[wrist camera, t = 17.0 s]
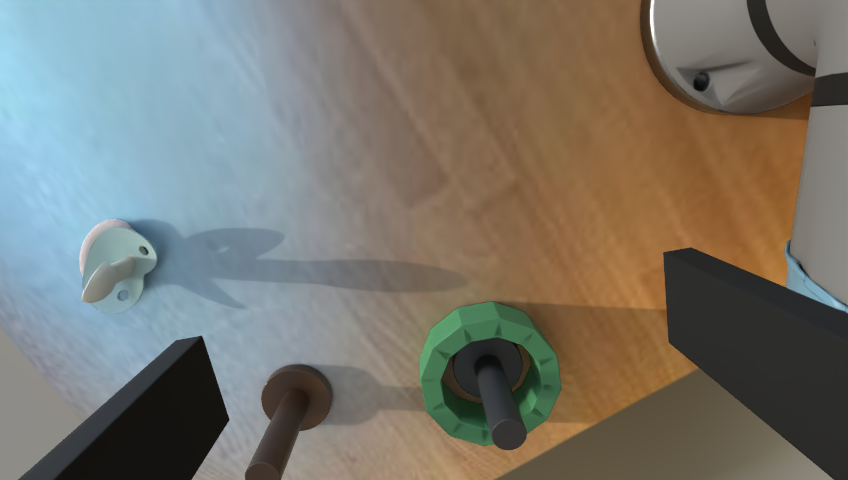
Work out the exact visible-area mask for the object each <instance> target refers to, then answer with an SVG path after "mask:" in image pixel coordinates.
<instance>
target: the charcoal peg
mask: <svg viewBox="0 0 848 480" xmlns="http://www.w3.org/2000/svg"><path fill="white" fill-rule="evenodd" d="M452 364H453V371H454V376H455V379H456V381H457V383H458V384H459V385H460V387H461V388H462V389H463V390H465V391H466V392H467V393H469V394H471V395H473V396H476V397H481V398H482V402H483V406H484V410H485V414H486V418H487V422H488V426H489V430H490V433H491V437H492V441H493V442H494V444H495V445H496V446H497V447H499V448H501V449H504V450H513V449H516V448H518V447H520V446H521V445H522V444H523V443H524V441H525V439H526V436H527V431H526V427H525V425H524V422H523V420H522V417H521V414H520V412H519V409H518V406H517V404H516V401H515V398H514V396H513V393H512V390H511V388H512V387H513V386H514V385H515V384H516V383H517V381H518V380H519V378H520V375H521V372H522V358H521V355H520V353H519V350H518V348H517V347H516V345H515V343H514V342H511V341H508V340H505V339H502V338H499V337H496V338H490V339H484V340H479V341H473V342H470V343H468V344H467V345H466V346H464V347H463V348H462V349H461V350H459V351H458V352H457V353H455V354H454V355H453V363H452Z"/></svg>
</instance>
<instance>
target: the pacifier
mask: <svg viewBox="0 0 848 480" xmlns="http://www.w3.org/2000/svg"><path fill="white" fill-rule="evenodd" d="M142 246H144V247H145V248H147V250H148V252H149V254H148V255H147V254H146V252H145V250H144V248H143V247H142ZM157 262H158V253H157V251H156V248H155V247H154V245H153V244H152V243H151V242H150V241H149V240H148V239H147V238H145V237H144V236H143V235H141V234H139V233H138V232H136V231H134V230H133V228H132V227H131V226H130V225H129V224H127V223H126V222H125V221H122V220H119V219H108V220H106V221H103V222H101V223H99V224H98V225H96V226H95V227H94V228H93V229H92V230H91V231H90V232H89V234H88V235H87V237H86V238H85V240H84V242H83V244H82V248H81V251H80V259H79V263H80V270H81V273H82V275H83V278H82V279H83V283H82V286H83V295H82V302H86V303H90V304H91V305H92V306H93V307H94V308H95V309H96V310H98V311H100V312H103V313H106V314H116V313H120V312H124V311H126V310H128V309H129V308H131V307H132V306H133V305H134V304H135V303H136V302H137V301H138V300H139V299H140V297H141V295H142V293H143V290H144V284H145V283H144V276H145V274H147V273H149V272H150V271H151V270H152V269H153V268H154V267H155V266H156V264H157ZM122 290H126V291H127V292H128V293H129V297H128V299H127V300H122V299H120V296H119V294H120V292H121V291H122Z"/></svg>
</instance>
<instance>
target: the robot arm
mask: <svg viewBox="0 0 848 480" xmlns="http://www.w3.org/2000/svg"><path fill="white" fill-rule="evenodd" d="M640 21H641V36H642V42H643V46H644V50H645V54H646V57H647V59H648V62H649V64H650V66H651V68H652V70H653V72H654V74H655V76H656V77H657V78H658V80H659V81H660V83H661V84H662V85H663V86H664V87H665V88H666V90H667V91H668V92H670V93H671V94H672V95H673V96H674V97H675V98H677V99H678V100H680V101H681V102H683V103H684V104H686V105H688V106H690V107H692V108H695V109H697V110H700V111H703V112H707V113H712V114H722V115H732V114H752V113H759V112H764V111H769V110H772V109H775V108H778V107H781V106H784V105H786V104H788V103H790V102H792V101H794V100H796V99H798V98H800V97H802V96H804V95H806V94H808V93H810V92H812V91H813V96H812V103H811V107H810V115H809V122H808V129H807V136H806V142H805V149H804V156H803V162H802V169H801V176H800V182H799V189H798V196H797V202H796V209H795V216H794V222H793V229H792V236H791V240H789V241H788V242H787V243H786V246H785V251H784V253H785V258H786V260H787V263H788V270H787V282H786V287H783V286H781V285H779V284H776V283H774V282H771V281H769V280H767V279H764V278H762V277H760V276H757V275H755V274H753V273H750V272H748V271H745V270H743V269H741V268H738V267H736V266H734V265H731V264H729V263H726V262H724V261H722V260H719V259H717V258H715V257H712V256H710V255H707V254H705V253H703V252H700V251H698V250H696V249H693V248H685V249H680V250H674V251H669V252H663V255H664V272H665V288H666V305H667V322H668V339H669V343H670V344H671V345H673V346H674V347H675V348H676V349H677V350H679V351H680V352H681V353H682V354H683V355H685V356H686V357H687V358H688V359H689V360H691V361H692V362H693V363H694V364H695V365H697V366H698V367H699V368H700V369H702V370H703V371H704V372H705V373H706V374H707V375H709V376H710V377H711V378H713V379H714V380H715V381H716V382H717V383H718V384H720V385H721V386H722V387H723V388H724V389H726V390H727V391H728V392H729V393H730V394H732V395H733V396H734V397H735V398H736V399H738V400H739V401H740V402H741V403H742V404H744V405H745V406H746V407H747V408H748V409H750V410H751V411H752V412H753V413H754V414H756V415H757V416H758V417H759V418H760V419H762V420H763V421H764V422H765V423H767V424H768V425H769V426H770V427H771V428H773V429H774V430H775V431H776V432H777V433H779V434H780V435H781V436H782V437H783V438H785V439H786V440H787V441H788V442H789V443H791V444H792V445H793V446H794V447H795V448H797V449H798V450H799V451H800V452H801V453H803V454H804V455H805V456H806V457H807V458H809V459H810V460H811V461H813V463H815V464H816V465H817V466H818V467H820V468H821V469H822V470H823V471H824V472H826V473H827V474H828V475H829V476H830V477H832V478H833V479H834V480H848V0H642V4H641V16H640ZM830 105H834V106H830ZM228 421H229V417H228V414H227V411H226V408H225V405H224V401H223V398H222V395H221V392H220V389H219V386H218V383H217V380H216V377H215V374H214V371H213V368H212V365H211V361H210V358H209V355H208V352H207V349H206V346H205V343H204V340H203V337H202V336H198V337H193V338H187V339H182V340H176V341H175V342H174V343H172V344H171V345H170V346H169V347H168V348H167V349H166V350H165V351H163V352H162V353H161V354H160V355H159V356H158V357H157V358H156V359H154V360H153V361H152V362H151V363H150V364H149V365H148V366H146V367H145V368H144V369H143V370H142V371H141V372H140V373H139V374H137V375H136V376H135V377H134V378H133V379H132V380H131V381H129V382H128V383H127V384H126V385H125V386H124V387H123V388H122V389H120V390H119V391H118V392H117V393H116V394H115V395H114V396H113V397H111V398H110V399H109V400H108V401H107V402H106V403H105V404H103V405H102V406H101V407H100V408H99V409H98V410H97V411H96V412H94V413H93V414H92V415H91V416H90V417H89V418H88V419H86V420H85V421H84V422H83V423H82V424H81V425H80V426H79V427H77V428H76V429H75V430H74V431H73V432H72V433H71V434H69V435H68V436H67V437H66V438H65V439H64V440H63V441H62V442H60V443H59V444H58V445H57V446H56V447H55V448H54V449H53V450H51V451H50V452H49V453H48V454H47V455H46V456H45V457H44V458H42V459H41V460H40V461H39V462H38V463H37V464H36V465H34V466H33V467H32V468H31V469H30V470H29V471H28V472H26V473H25V474H24V475H23V476H22V477H21V478H20V479H19V480H191V479H192V478H193V476H194V475H195V473H196V472H197V470H198V468H199V467H200V465H201V464H202V462H203V461H204V459H205V457H206V456H207V454H208V453H209V451H210V450H211V448H212V446H213V445H214V443H215V442H216V440H217V439H218V437H219V435H220V434H221V432H222V431H223V429H224V428H225V426H226V424H227V423H228Z"/></svg>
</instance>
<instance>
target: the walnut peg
mask: <svg viewBox="0 0 848 480" xmlns="http://www.w3.org/2000/svg"><path fill="white" fill-rule="evenodd" d="M261 401H262V407H263V409H264V412H265V413H266V415H267V416H268V418H269V419H270V420H271V422H270V424H269V426H268V428H267V430H266V432H265V434H264V436H263V438H262V440H261V442H260V444H259V446H258V448H257V450H256V452H255V454H254V456H253V458H252V460H251V462H250V464H249V466H248V468H247V470H246V473H245V480H281V478H282V475H283V473H284V470H285V468H286V465H287V462H288V460H289V457H290V454H291V452H292V449H293V446H294V444H295V441H296V439H297V436H298V433H299V431H304V430H308V429H311V428H313V427H315V426H317V425H318V424H320V423H321V422H322V421H323V420H324V419H325V418H326V416H327V414H328V412H329V409H330V406H331V402H332V390H331V386H330V384H329V382H328V381H327V379H326V378H325V377H324V376H323V375H322V374H321V373H320V372H319V371H317V370H316V369H314V368H312V367H309V366H305V365H289V366H285V367H283V368H281V369H279V370H277V371H276V372H274V373H273V374H272V375H271V377H270V378H269V379H268V381H267V383H266V385H265V386H264V389H263V391H262V397H261Z"/></svg>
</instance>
